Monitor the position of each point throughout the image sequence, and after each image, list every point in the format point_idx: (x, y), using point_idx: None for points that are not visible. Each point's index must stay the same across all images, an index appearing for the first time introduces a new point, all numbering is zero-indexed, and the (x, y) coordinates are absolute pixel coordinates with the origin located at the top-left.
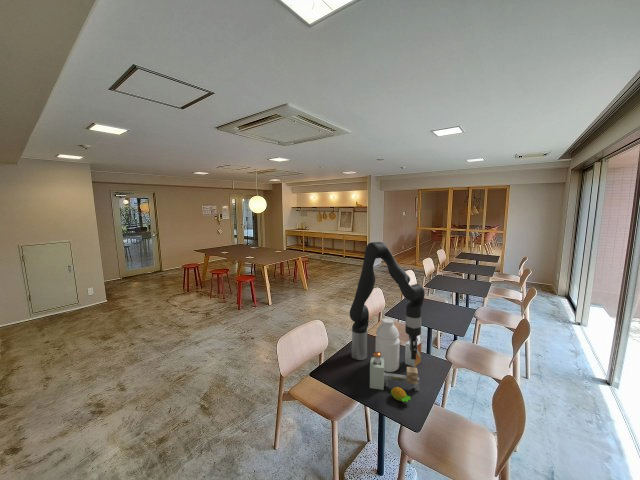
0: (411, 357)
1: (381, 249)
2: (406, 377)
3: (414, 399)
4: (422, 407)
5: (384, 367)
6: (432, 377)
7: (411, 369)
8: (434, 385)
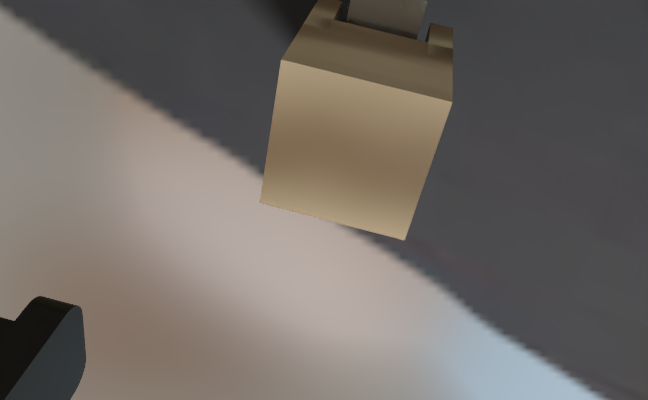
0: (14, 329)
1: None
2: (369, 18)
3: (205, 9)
4: (109, 50)
5: None
6: (545, 293)
7: (359, 150)
8: (423, 262)
